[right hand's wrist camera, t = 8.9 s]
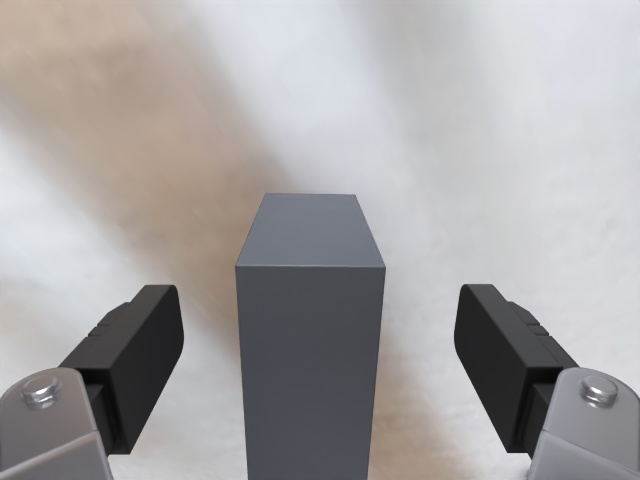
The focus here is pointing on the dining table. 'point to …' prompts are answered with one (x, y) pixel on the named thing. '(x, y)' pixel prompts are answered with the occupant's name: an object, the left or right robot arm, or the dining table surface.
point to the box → (309, 337)
